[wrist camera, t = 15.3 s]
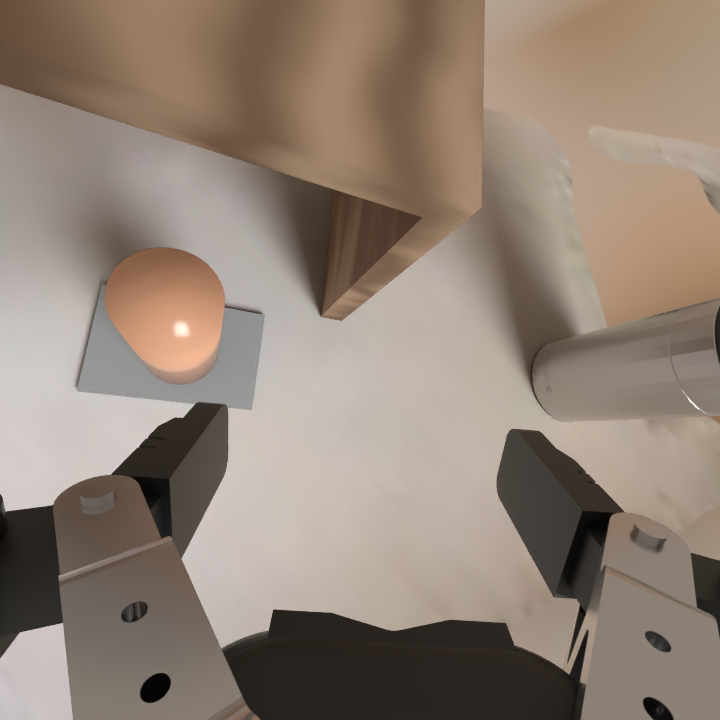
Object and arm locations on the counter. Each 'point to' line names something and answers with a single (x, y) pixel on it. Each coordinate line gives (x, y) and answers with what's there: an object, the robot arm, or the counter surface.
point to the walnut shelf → (288, 102)
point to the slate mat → (132, 379)
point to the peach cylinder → (168, 312)
